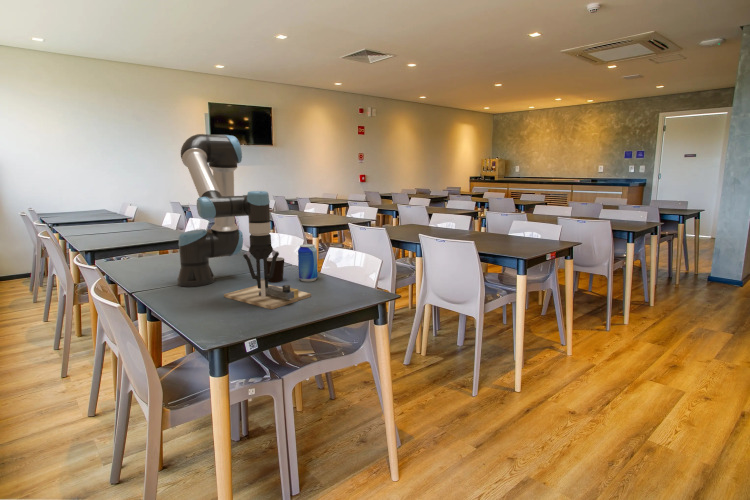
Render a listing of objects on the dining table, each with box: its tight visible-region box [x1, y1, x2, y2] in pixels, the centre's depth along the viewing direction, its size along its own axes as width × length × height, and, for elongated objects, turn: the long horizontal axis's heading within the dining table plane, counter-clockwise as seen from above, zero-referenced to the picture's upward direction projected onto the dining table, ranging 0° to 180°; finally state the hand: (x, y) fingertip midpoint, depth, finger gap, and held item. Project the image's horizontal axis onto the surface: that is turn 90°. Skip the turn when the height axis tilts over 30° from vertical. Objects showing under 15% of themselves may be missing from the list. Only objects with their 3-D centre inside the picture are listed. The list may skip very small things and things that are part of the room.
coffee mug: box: [267, 256, 285, 283], centre depth 197 cm, size 12×9×10 cm
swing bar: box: [265, 284, 294, 299], centre depth 164 cm, size 14×3×4 cm, turn 51°
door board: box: [223, 284, 312, 310], centre depth 170 cm, size 28×20×7 cm
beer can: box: [297, 243, 319, 283], centre depth 196 cm, size 8×8×16 cm
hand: (263, 296), depth 161 cm, fingers closed
